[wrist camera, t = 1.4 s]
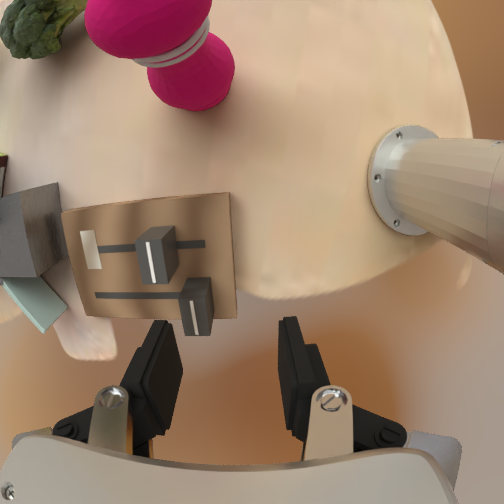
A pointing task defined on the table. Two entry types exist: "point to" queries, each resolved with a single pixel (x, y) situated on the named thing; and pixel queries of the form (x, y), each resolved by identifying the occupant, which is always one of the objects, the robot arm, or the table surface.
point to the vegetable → (37, 25)
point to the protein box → (2, 171)
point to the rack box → (31, 232)
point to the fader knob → (157, 255)
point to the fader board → (127, 268)
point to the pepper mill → (166, 47)
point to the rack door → (35, 299)
